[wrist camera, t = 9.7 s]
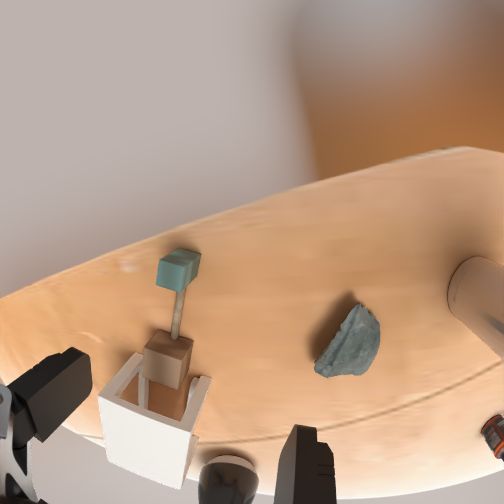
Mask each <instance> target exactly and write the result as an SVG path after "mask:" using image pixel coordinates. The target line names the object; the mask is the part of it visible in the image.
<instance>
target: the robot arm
mask: <svg viewBox="0 0 504 504" xmlns="http://www.w3.org/2000/svg"><path fill="white" fill-rule="evenodd" d="M448 304H449V308H450V310H451V312H452V313H453V315H454V316H455V317H457V318H458V319H459V320H460V321H461V322H462V323H463V324H465V325H466V326H467V327H468V328H469V329H470V330H471V331H472V332H473V333H475V334H476V335H477V336H478V337H479V338H480V339H481V340H482V341H483V342H484V343H486V344H487V345H488V346H489V347H490V348H491V349H492V350H493V351H494V352H495V353H496V354H497V355H498V356H499V357H500V358H501V359H503V360H504V266H502V265H500V264H498V263H495V262H493V261H491V260H488V259H486V258H483V257H479V256H476V257H471V258H469V259H467V260H466V261H465V262H463V263H462V264H461V265H460V266H459V268H458V269H457V270H456V272H455V273H454V275H453V277H452V280H451V282H450V285H449V289H448ZM91 390H92V374H91V363H90V357H89V355H88V354H86V353H84V352H82V351H80V350H78V349H76V348H74V347H71V348H69V349H67V350H66V351H65V352H63V353H62V354H60V353H57V354H54V355H51V356H48V357H46V358H45V359H43V360H42V361H41V362H39V364H37V365H35V366H34V367H33V369H30V370H28V371H27V372H25V373H24V374H23V375H21V376H20V377H19V378H17V379H16V380H15V381H13V382H12V383H10V384H9V385H8V386H4V385H2V384H0V504H48V503H46V502H45V501H44V500H42V499H40V500H39V502H38V500H37V496H36V492H35V489H34V487H33V483H32V476H31V442H30V439H31V438H32V437H33V436H34V437H35V438H37V439H38V440H39V441H41V442H42V443H43V442H44V441H45V440H46V439H47V438H48V437H49V436H50V435H51V434H52V433H53V432H54V431H55V430H56V429H57V428H58V427H59V426H60V425H61V424H62V423H63V422H64V421H65V420H66V418H67V417H68V416H69V415H70V414H71V413H72V412H73V411H74V410H75V409H76V408H77V407H78V406H79V405H80V404H81V403H82V402H83V401H84V400H85V399H86V398H87V397H88V396H89V394H90V392H91ZM334 476H335V469H334V457H333V453H332V451H331V449H330V448H329V446H328V444H327V443H323V442H317V429H316V428H315V427H309V426H303V425H297V424H295V425H294V427H293V429H292V431H291V433H290V435H289V437H288V439H287V441H286V443H285V445H284V447H283V449H282V452H281V455H280V459H279V464H278V473H277V481H276V489H275V497H274V504H337V501H336V484H335V477H334Z"/></svg>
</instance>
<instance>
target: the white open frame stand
mask: <svg viewBox="0 0 504 504" xmlns="http://www.w3.org/2000/svg"><path fill="white" fill-rule="evenodd" d="M138 371H139V383H138V406H137V405H135V404H132V403H130V402H128V401H125V400H123V399H121V398H119V396H120V395H121V393H122V392H123V391H124V389H125V388H126V387H127V386H128V384H129V383H130V382H131V380H132V379H133V378H134V377H135V375H136V374H137V373H138ZM142 371H143V355H142V354H139V353H137V352H135V353H134V354H133V355H132V356H131V357H130V359H129V360H128V361H127V362H126V363H125V364H124V365H123V367H122V368H121V369H120V370H119V371H118V372H117V373H116V375H115V376H114V377H113V378H112V379H111V380H110V382H109V383H108V384H107V385H106V386H105V387H104V388H103V390H102V391H101V392H100V393H99V394H98V403H99V411H100V418H101V425H102V431H103V437H104V443H105V448H106V452H107V458H108V461H109V462H111V463H113V464H116V465H117V466H120V467H122V468H124V469H126V470H129V471H131V472H133V473H136V474H138V475H140V476H143V477H145V478H148V479H151V480H153V481H156V482H159V483H161V484H164V485H167V486H170V487H173V488H176V489H179V490H181V488H182V485H183V482H184V480H185V477H186V474H187V471H188V469H189V466H190V463H191V460H192V458H193V455H194V452H195V449H196V446H197V444H198V440H199V437H197V436H193V435H192V432H193V430H194V427H195V425H196V422H197V420H198V417H199V414H200V412H201V409H202V407H203V404H204V402H205V399H206V396H207V394H208V391H209V389H210V386H211V381H212V378H210V377H206V376H203V375H201V377H200V379H199V378H196V377H194V378H193V380H192V382H191V384H190V388H189V394H188V400H187V406H186V410H185V412H184V414H183V417H182V419H181V421H177V420H174V419H171V418H168V417H166V416H163V415H160V414H157V413H155V412H152V411H150V410H148V398H149V380H148V379H145V378H143V377H142Z"/></svg>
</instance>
